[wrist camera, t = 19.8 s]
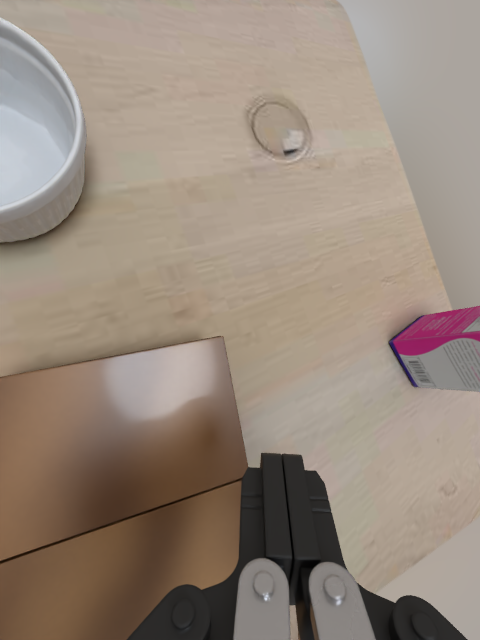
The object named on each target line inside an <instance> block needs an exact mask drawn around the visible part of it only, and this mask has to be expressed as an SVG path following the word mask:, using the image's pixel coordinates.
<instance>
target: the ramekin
mask: <svg viewBox="0 0 480 640" xmlns="http://www.w3.org/2000/svg"><path fill="white" fill-rule="evenodd" d="M86 138H87V135H86V123H85V118H84V114H83V111H82V107H81V104H80V101H79V98H78V95H77V92H76V90H75V88H74V86H73V84H72V82H71V80H70V79H69V77H68V75H67V74H66V72H65V71H64V69H63V68H62V67H61V65H60V64H59V63H58V61H57V60H56V59H55V58H54V57H53V56H52V55H51V53H50V52H49V51H48V50H47V49H46V48H45V47H44V46H43V45H42V44H40V43H39V42H38V41H37V40H35V39H34V38H33V37H32V36H30V35H29V34H27V33H26V32H25V31H23V30H22V29H20V28H18V27H17V26H15V25H14V24H12V23H10V22H8V21H7V20H5V19H3V18H1V17H0V242H14V241H17V240H25V239H28V238H33V237H36V236H38V235H40V234H44V233H46V232H47V231H49V230H51V229H53V228H54V227H56V226H57V225H59V224H60V223H61V222H62V220H64V219H65V218H67V217H68V215H69V213H70V212H71V211H72V210H73V209H74V207H75V204H76V203H77V202H78V201H79V196H80V195H81V193H82V189H83V185H84V174H85V158H84V154H85V148H86Z"/></svg>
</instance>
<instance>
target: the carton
mask: <svg viewBox="0 0 480 640" xmlns="http://www.w3.org/2000/svg"><path fill="white" fill-rule="evenodd" d="M247 468H248V463H247V458H246V453H245V447H244V442H243V437H242V432H241V426H240V421H239V416H238V411H237V405H236V400H235V395H234V390H233V385H232V379H231V374H230V369H229V364H228V358H227V353H226V348H225V343H224V337H223V336H222V337H221V336H217V337H212V338H207V339H201V340H196V341H191V342H185V343H180V344H175V345H169V346H164V347H159V348H153V349H148V350H142V351H137V352H132V353H126V354H121V355H116V356H110V357H105V358H100V359H94V360H89V361H84V362H78V363H73V364H68V365H62V366H57V367H52V368H46V369H41V370H36V371H30V372H25V373H20V374H14V375H9V376H4V377H0V561H3V560H6V559H9V558H12V557H15V556H18V555H21V554H24V553H26V552H29V551H32V550H35V549H38V548H41V547H44V546H47V545H50V544H53V543H56V542H58V541H61V540H64V539H67V538H70V537H73V536H76V535H79V534H82V533H85V532H88V531H90V530H93V529H96V528H99V527H102V526H105V525H108V524H111V523H114V522H117V521H119V520H122V519H125V518H128V517H131V516H134V515H137V514H140V513H143V512H146V511H149V510H151V509H154V508H157V507H160V506H163V505H166V504H169V503H172V502H175V501H178V500H180V499H183V498H186V497H189V496H192V495H195V494H198V493H201V492H204V491H207V490H210V489H212V488H215V487H218V486H221V485H224V484H227V483H230V482H233V481H236V480H239V479H241V478H243V476H244V474H245V472H246V470H247Z"/></svg>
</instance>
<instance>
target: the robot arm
mask: <svg viewBox="0 0 480 640" xmlns="http://www.w3.org/2000/svg"><path fill="white" fill-rule="evenodd" d="M289 605H296V614H297V623H298V640H467V639H466V638H465V637H464V636H463V635H462V634H461V633H460V632H459V631H458V630H457V629H456V628H455V627H454V626H453V625H452V624H451V623H450V622H449V621H448V620H447V619H446V618H444V616H442V615H441V614H440V612H438V611H437V610H436V609H435V608H434V607H433V606H432V605H431V604H429V603H428V602H427V601H425V600H423V599H421V598H419V597H416V596H411V595H410V596H403V597H401V598H399V599H398V600H397V602H396V603H394V602H392V601H389V600H387V599H385V598H382V597H380V596H378V595H376V594H373V593H371V592H369V591H367V590H366V589H364V588H363V587H361V586H360V585H359V584H358V583H357V582H356V581H355V579H354V578H353V576H352V575H351V574H350V573H349V572H348V570H347V568H346V566H345V564H344V561H343V557H342V553H341V549H340V545H339V541H338V537H337V532H336V528H335V524H334V520H333V516H332V513H331V508H330V504H329V501H328V495H327V491H326V487H325V483H324V482H323V481H322V479H321V478H320V476H319V475H318V473H317V472H316V471H307V470H304V464H303V459H302V456H301V455H295V454H282V455H281V454H276V453H261V463H260V468H249V467H248V468H247V470H246V472H245V474H244V476H243V478H242V481H241V502H240V530H239V559H238V563H237V565H236V567H235V569H234V571H233V572H232V574H231V575H230V576H229V577H228V578H227V579H226V580H224V581H223V582H221V583H219V584H216V585H213V586H211V587H208V588H205V589H202V590H201V589H200V588H198V587H197V586H194V585H190V584H184V585H180V586H177V587H175V588H174V589H172V590H171V591H170V592H169V593H167V594H166V596H165V597H164V598H163V599H162V600H161V601H160V602H159V603H158V605H157V606H156V607H155V608H154V609H153V610H152V611H151V613H150V614H149V615H148V616H147V617H146V618H145V619H144V620H143V622H142V623H141V624H140V625H139V626H138V627H137V628H136V629H135V631H134V632H133V633H132V634H131V635H130V636H129V637H128V639H127V640H290V609H289Z"/></svg>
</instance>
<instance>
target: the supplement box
mask: <svg viewBox="0 0 480 640" xmlns="http://www.w3.org/2000/svg"><path fill="white" fill-rule="evenodd" d="M389 343H390V345H391V347H392V349H393V351H394V352H395V354H396V356H397V358H398V360H399V361H400V363H401V365H402V366H403V368H404V370H405V372H406V373H407V375H408V377H409V379H410V381H411V382H412V384H413V386H414V387H422V388H436V389H448V390H462V391H476V392H480V306H476V307H471V308H465V309H459V310H453V311H447V312H441V313H435V314H429V315H424V316H421V317H420V318H418V319H417V320H416V321H415V322H413V323H412V324H411V325H409V326H408V327H407V328H406V329H404V330H403V331H402V332H401V333H399V334H398V335H397V336H396V337H394V338H393V339H392V340H391V341H389Z"/></svg>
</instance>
